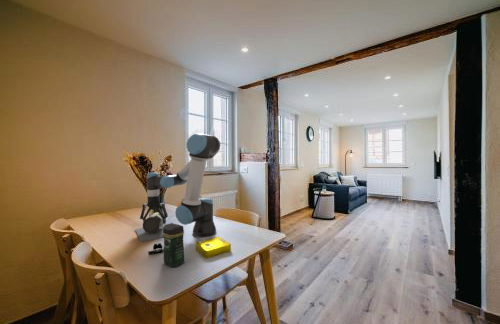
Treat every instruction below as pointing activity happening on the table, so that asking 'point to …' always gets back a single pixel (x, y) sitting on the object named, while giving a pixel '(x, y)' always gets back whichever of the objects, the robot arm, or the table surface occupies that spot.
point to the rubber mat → (149, 234)
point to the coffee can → (152, 223)
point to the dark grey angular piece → (156, 250)
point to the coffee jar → (173, 245)
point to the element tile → (213, 247)
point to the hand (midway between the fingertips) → (154, 228)
